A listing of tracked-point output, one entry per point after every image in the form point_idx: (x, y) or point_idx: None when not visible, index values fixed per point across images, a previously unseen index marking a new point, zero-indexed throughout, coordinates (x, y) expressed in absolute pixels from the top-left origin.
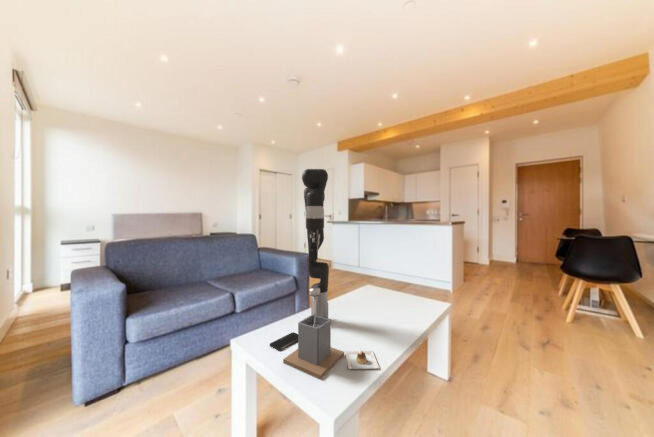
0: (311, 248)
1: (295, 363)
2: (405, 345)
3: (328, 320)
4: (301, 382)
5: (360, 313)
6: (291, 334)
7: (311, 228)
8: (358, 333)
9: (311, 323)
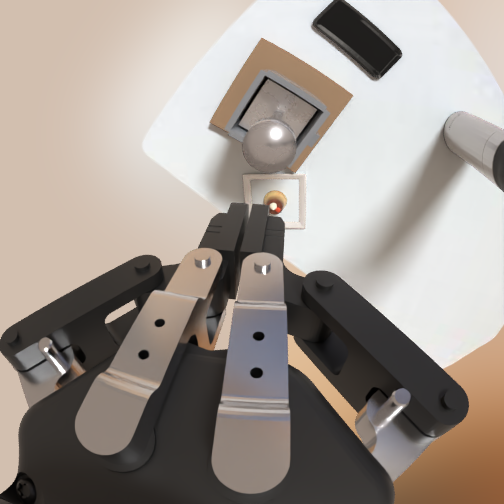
0: (124, 268)
1: (245, 67)
2: None
3: None
4: (200, 87)
5: (471, 240)
6: (392, 49)
7: (4, 496)
8: (385, 215)
9: (308, 105)
